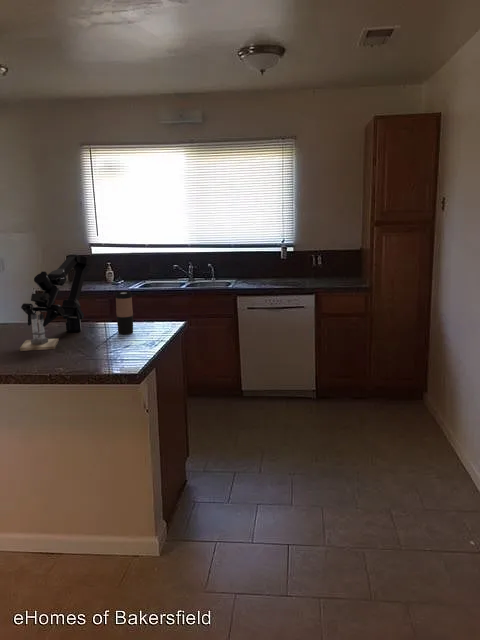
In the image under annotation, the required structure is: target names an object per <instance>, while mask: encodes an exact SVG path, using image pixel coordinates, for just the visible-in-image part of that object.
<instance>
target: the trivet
mask: <svg viewBox="0 0 480 640" xmlns="http://www.w3.org/2000/svg"><path fill="white" fill-rule="evenodd" d="M31 340H32V339H26V340H24V342H23V343H22V345H21V346H20V347H19V352H23V351H25V352H26V351H43V350H55V349H56V346H57V344H58V343H59V338H48V342H47V343H45V344H43V345H35V344H31Z"/></svg>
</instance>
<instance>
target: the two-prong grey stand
mask: <svg viewBox="0 0 480 640" xmlns="http://www.w3.org/2000/svg"><path fill="white" fill-rule="evenodd" d="M31 320H32V324H31V329H32V332H31V335H32V339H30V340H31V344H35V345H43V344H45V343H47V342H48V339H49V338H48V337H46V334H47V333H46V331H45V330H46V328H45V327H44V326H43V323H44V320H45V317H44V313H39V314H37V313H35V314H32V315H31Z"/></svg>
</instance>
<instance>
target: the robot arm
mask: <svg viewBox="0 0 480 640" xmlns="http://www.w3.org/2000/svg"><path fill="white" fill-rule="evenodd" d="M92 265H93V260H92V258H91V257H90V256H83V255H80V254H77V253H72V254H71V253H69V254H68V255H67V258H66V259H65V260H64V261H63V262H62V264H60V265H59V267H58V268H57V269H54V270H51V271H50V272H49V273H47V271H44V270H43V271H41V272H40V273H38V274H37V275H36V276H34V279H33V281H34V283H35V284H36V285H37V287H38V288H39V289H40V290H42V291H43V292H42V293H31V297H30V301H31V302H34V305H35V306H34V305H33V304H32V303H30V302H29V303H27V302H24V303H22V305H21V306H20V309H21V310H22V311H23V312H25V314H26V315H27V326H28V327H29V326H32V320H31V315H32V314H37V312H41V313H42V312H43V313H46V315H45V317H44V323H43V326H44V328H45V327H46V326H47V325H49V323H51V322H52V321H54V320H55V319H57V318H59V317H62V319H63V320H66V321H65V331H66V332H67V333H79V332H82V330H83V329H82V322H81V321H82V320H83V319H84V317H85V313H84V312H83V310H82V309H81V304H80V296H81V293H82V288H83V285H84V281H85V277H86V274H87V273H88V272H89V271H90V270H91V267H92ZM72 269H74V275H73V278H72V283H71V286H70V291H69V294H68V298H67V299H64V300H63V301H62V305H60V304H56V301H55V300H56V297H57V295H60V294H61V290H60V288H59V287H58V286H60V287H61V286H64V285H65V283H66V282H67V275H69V273H70V272H71V271H72Z"/></svg>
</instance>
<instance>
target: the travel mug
mask: <svg viewBox="0 0 480 640" xmlns="http://www.w3.org/2000/svg"><path fill="white" fill-rule="evenodd" d="M132 298H133V297H132V292H131V291H130V290H124V291H123V290H121V291H116V292H115V307H116V311H115V312H116V313H115V314H116V323H117V325H116V326H117V333H118V335H125V336H127V335H132V334H134V312H133V299H132Z"/></svg>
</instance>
